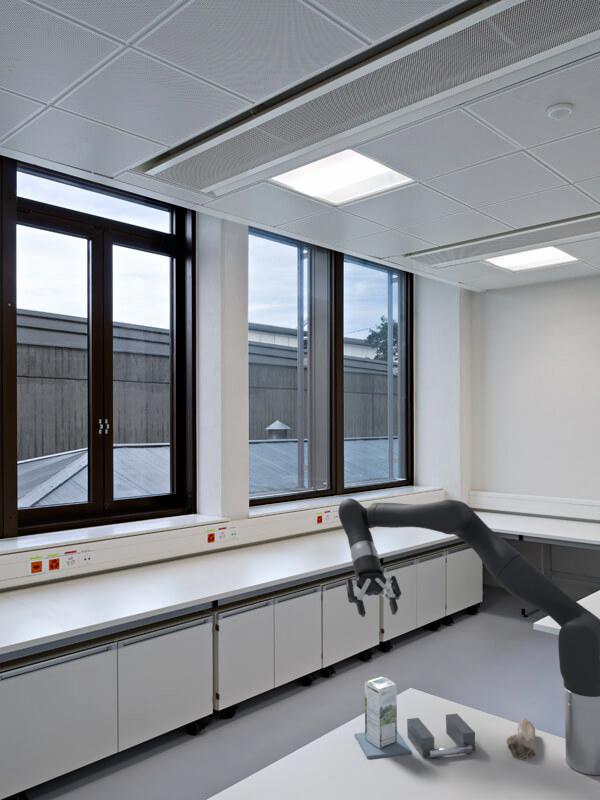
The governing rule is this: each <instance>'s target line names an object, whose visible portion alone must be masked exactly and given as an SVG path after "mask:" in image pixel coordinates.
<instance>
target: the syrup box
mask: <svg viewBox="0 0 600 800" xmlns="http://www.w3.org/2000/svg"><path fill="white" fill-rule="evenodd" d="M397 687H398V686H397V684H396V683H395V682H393V681H392V680H391V679H388V678H387V677H384V676H379V677H377V678H372V679H370V680H367V681H365V682H364V732H365V739H366V740H367V741H368V742H370V743H372V744H373V745H375V746H376V747H378V748H383V747H385V746H388V745H390V744H393V743H396V742H397V731H398V718H397V717H398V715H397V714H398V713H397V712H398V711H397V709H398V704H397V703H398V698H397V697H398V696H397V695H398V694H397V692H398V691H397Z"/></svg>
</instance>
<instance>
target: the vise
mask: <svg viewBox="0 0 600 800" xmlns="http://www.w3.org/2000/svg"><path fill="white" fill-rule="evenodd" d="M406 720H407V721H406V725H407V726H406V730H407V739H408V740H409V741H410V743H411V744H412V745H413V747H414V749H415V750H416V751H417V752H418V754H419V755H420V756H421V758H423V759H424V758H438V757H439V758H440V757H445V756H454V755H462V754H469V753H470V754H471V753H473V752H476V732H475V731H474V729H472V727H470V725H468V723H466V721H465V720H463V719H462V717H461V716H460V715H459V714H458V713H452V714H451V713H449V714H445V732H446V734H447V735H448V736H449V738H451V740H452V741H453V742H454V744H455V745H456V746H450V747H440V748H435V736H434V735H433V734H432V732H431V731H430V730H429V729H428V728H427V726H426V725H425V724H424V723H423V722H422V721H421V719H420V718H419V717H413V718H412V717H411V718H407V719H406Z"/></svg>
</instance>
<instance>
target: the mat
mask: <svg viewBox="0 0 600 800" xmlns="http://www.w3.org/2000/svg"><path fill="white" fill-rule="evenodd" d="M354 737H356V738H355V740H356V741H357V740H358V741H357V742H359V743H358V744H360V745H359V746H360V749H361V750H362V752H363V753H364V755H365V757H366V758H367V759H369V760H370V759H375V758H377V759H378V758H384V757H385V758H386V757H393V756H399V755H400V756H401V755H408V754H409V755H410V754H412V749H411V748H410V746H409V745H408V744H407V743H406V741H405V740H404V738H403V737H402V735H401V734H400V733H399V731H398V730H397V742H396V743H393V744H390V745H388V746H385V747H383V748H378V747H376V746H375V745H373V744H372V743H370V742H368V741H367V740H366V739H365V731H364V732H358V733H357V732H355V733H354Z"/></svg>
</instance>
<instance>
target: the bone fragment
mask: <svg viewBox="0 0 600 800" xmlns="http://www.w3.org/2000/svg"><path fill="white" fill-rule="evenodd" d="M505 742H506V745H507V748H508V750H509V751H510V753H511V755H512V757H514V758H518V759H521V758H522V759H521V760H524V759H525V760H528V759H529V758H530V757H531V756H536V729H535V726H534V724H533V723H532V722H531V720H530V721H529V720H528V719H527V718H523V719H522V720H520V721H519V723H518V724H517V733H515V734H512V735H511V736H509V737H507V739H506V741H505ZM525 760H524V761H525Z"/></svg>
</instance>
